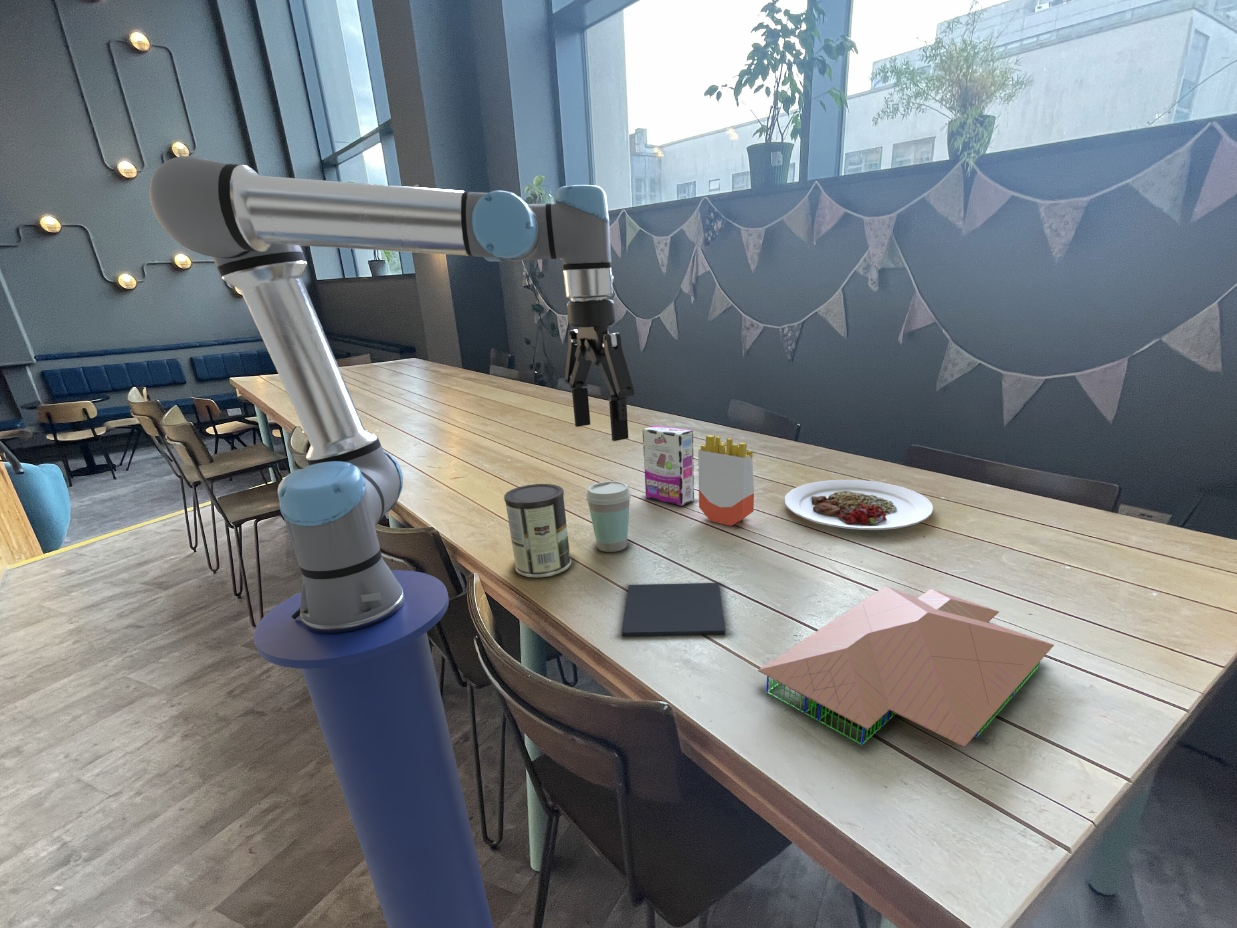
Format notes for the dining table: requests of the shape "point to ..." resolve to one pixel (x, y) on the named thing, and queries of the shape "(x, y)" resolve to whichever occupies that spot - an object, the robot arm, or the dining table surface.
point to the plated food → (858, 504)
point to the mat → (673, 610)
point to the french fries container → (725, 481)
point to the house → (910, 664)
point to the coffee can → (538, 529)
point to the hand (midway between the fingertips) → (600, 432)
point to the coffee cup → (609, 514)
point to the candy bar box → (669, 464)
